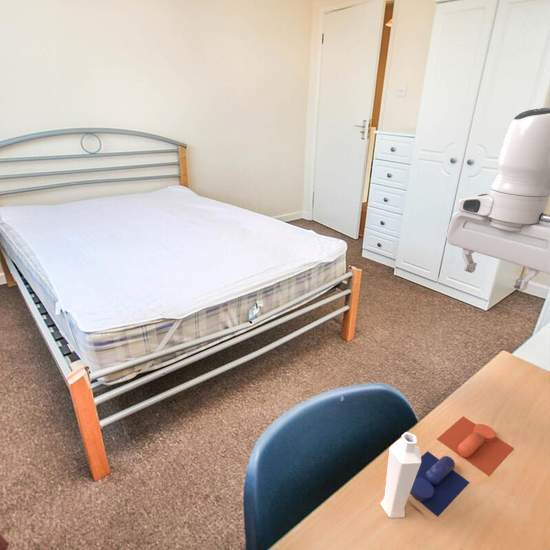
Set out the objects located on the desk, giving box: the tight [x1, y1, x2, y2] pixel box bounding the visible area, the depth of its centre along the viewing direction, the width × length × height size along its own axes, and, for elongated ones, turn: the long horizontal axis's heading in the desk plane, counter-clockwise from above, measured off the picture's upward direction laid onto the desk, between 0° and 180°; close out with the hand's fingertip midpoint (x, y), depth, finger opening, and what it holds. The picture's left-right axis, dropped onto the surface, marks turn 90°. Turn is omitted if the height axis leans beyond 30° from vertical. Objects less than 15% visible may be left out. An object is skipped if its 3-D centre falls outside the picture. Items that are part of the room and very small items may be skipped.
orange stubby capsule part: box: [458, 423, 496, 457], centre depth 72 cm, size 11×4×2 cm, turn 128°
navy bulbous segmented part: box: [410, 455, 456, 503], centre depth 64 cm, size 11×4×2 cm, turn 128°
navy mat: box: [409, 450, 470, 518], centre depth 65 cm, size 10×8×1 cm
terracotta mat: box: [436, 415, 515, 477], centre depth 72 cm, size 10×10×1 cm
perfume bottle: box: [380, 431, 422, 519], centre depth 58 cm, size 5×4×15 cm
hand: (493, 279), depth 72 cm, fingers open, 8 cm apart
